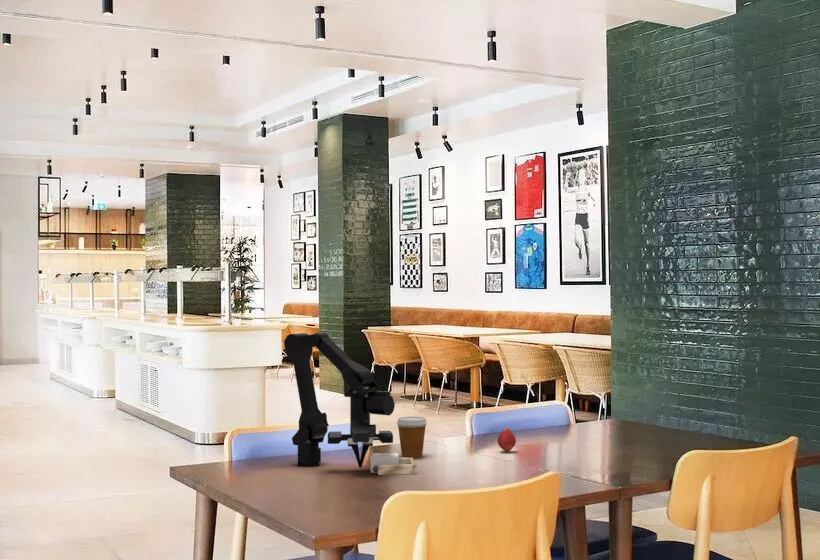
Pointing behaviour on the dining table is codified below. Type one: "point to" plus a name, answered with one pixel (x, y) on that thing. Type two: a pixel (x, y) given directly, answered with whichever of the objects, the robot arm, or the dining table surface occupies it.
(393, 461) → the trolley
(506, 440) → the onion
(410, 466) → the bay
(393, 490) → the dining table surface
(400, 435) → the disposable coffee cup
